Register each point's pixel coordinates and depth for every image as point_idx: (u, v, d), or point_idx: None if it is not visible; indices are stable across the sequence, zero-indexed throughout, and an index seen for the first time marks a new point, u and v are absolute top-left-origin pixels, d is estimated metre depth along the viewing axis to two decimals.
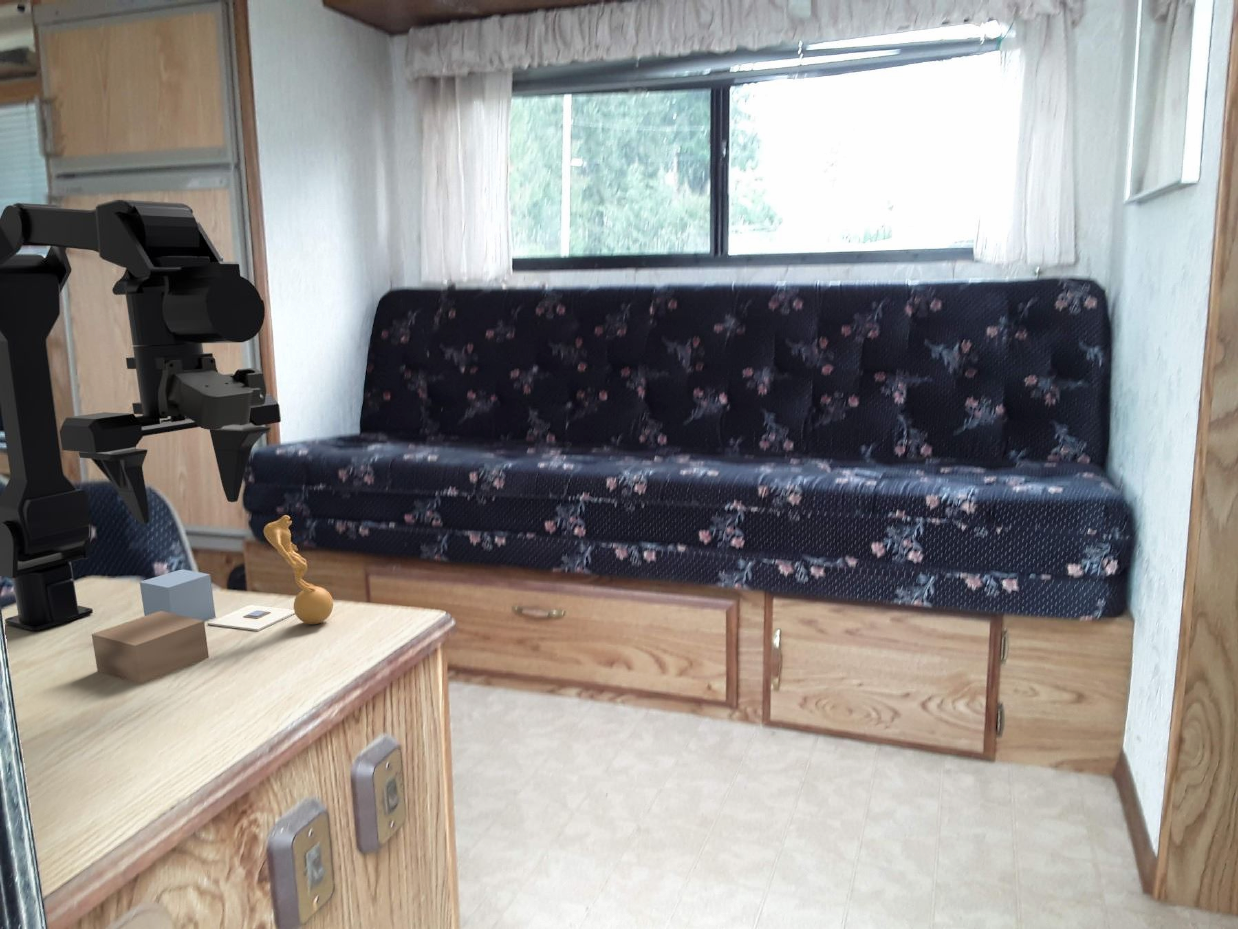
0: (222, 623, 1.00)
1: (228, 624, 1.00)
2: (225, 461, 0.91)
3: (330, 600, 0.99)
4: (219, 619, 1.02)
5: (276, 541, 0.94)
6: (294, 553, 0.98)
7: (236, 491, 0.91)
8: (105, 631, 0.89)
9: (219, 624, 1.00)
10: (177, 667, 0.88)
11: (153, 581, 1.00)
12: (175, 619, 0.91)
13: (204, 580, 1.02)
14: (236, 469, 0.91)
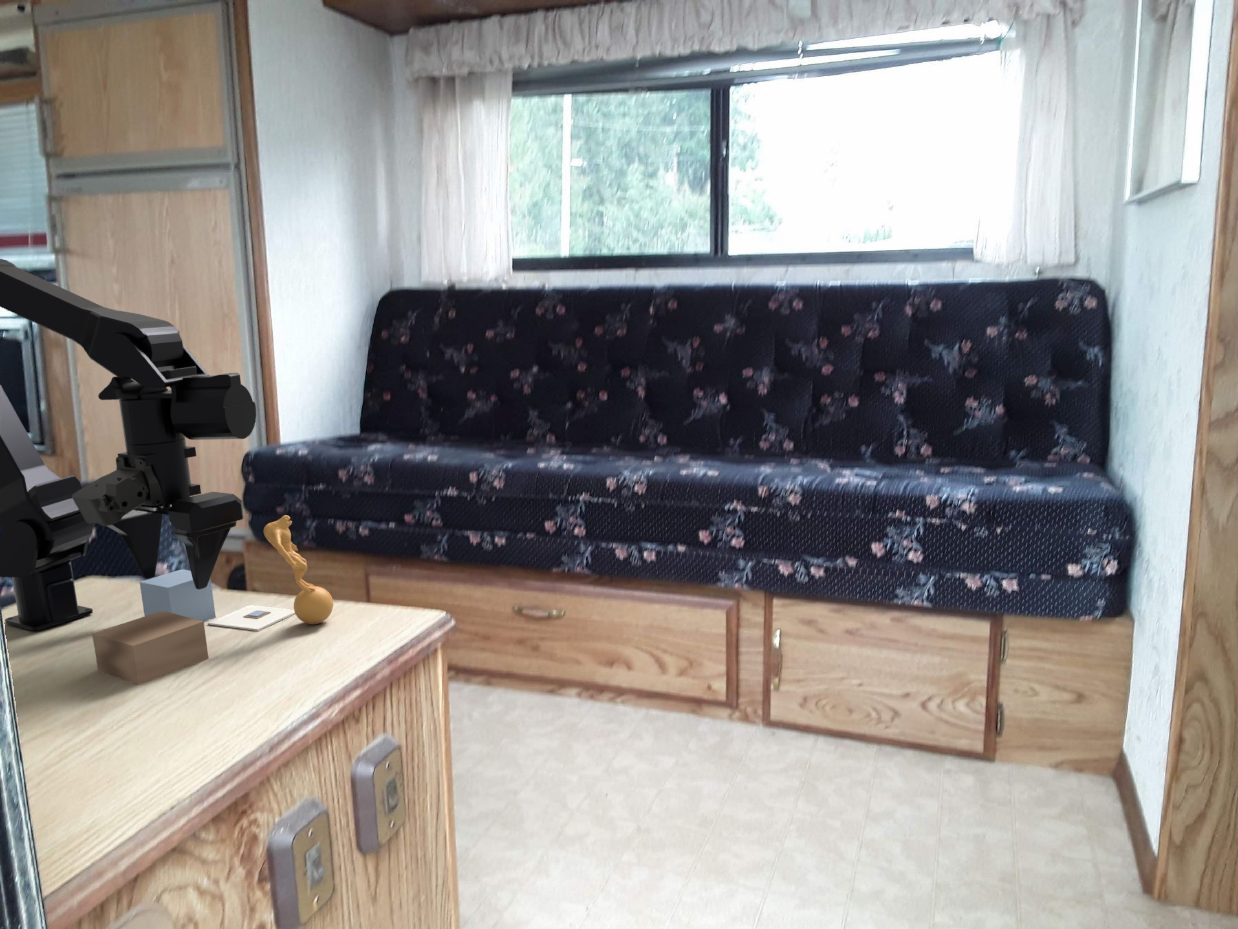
0: (222, 623, 1.00)
1: (228, 624, 1.00)
2: None
3: (330, 600, 0.99)
4: (219, 619, 1.02)
5: (276, 541, 0.94)
6: (294, 553, 0.98)
7: (194, 580, 0.98)
8: (106, 630, 0.89)
9: (219, 624, 1.00)
10: (175, 668, 0.88)
11: (153, 581, 1.00)
12: (175, 619, 0.91)
13: None
14: None
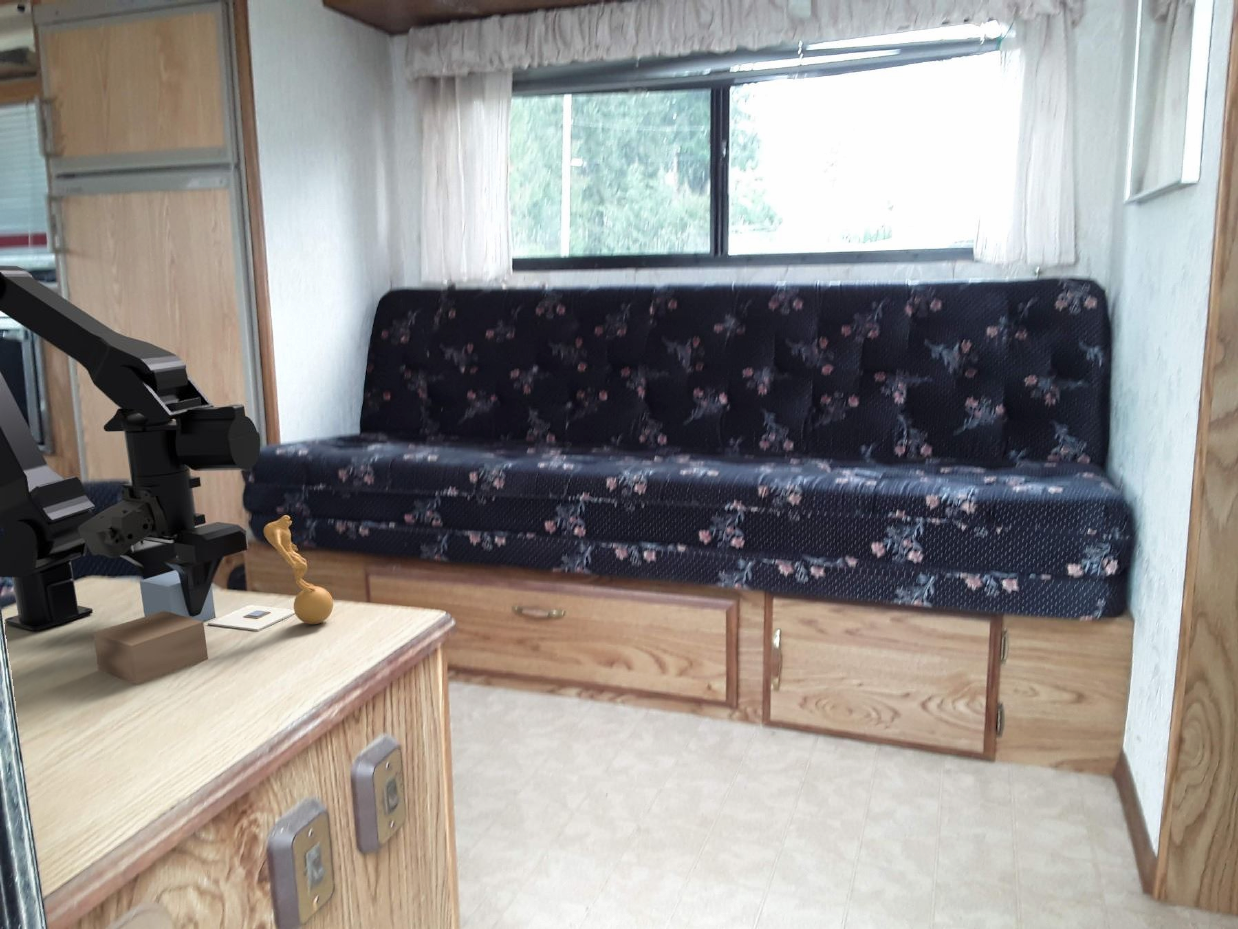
0: (222, 623, 1.00)
1: (228, 624, 1.00)
2: None
3: (330, 600, 0.99)
4: (219, 619, 1.02)
5: (276, 541, 0.94)
6: (294, 553, 0.98)
7: (188, 608, 1.00)
8: (106, 630, 0.89)
9: (219, 624, 1.00)
10: (174, 668, 0.88)
11: (153, 580, 1.00)
12: (176, 619, 0.91)
13: None
14: (182, 589, 0.99)
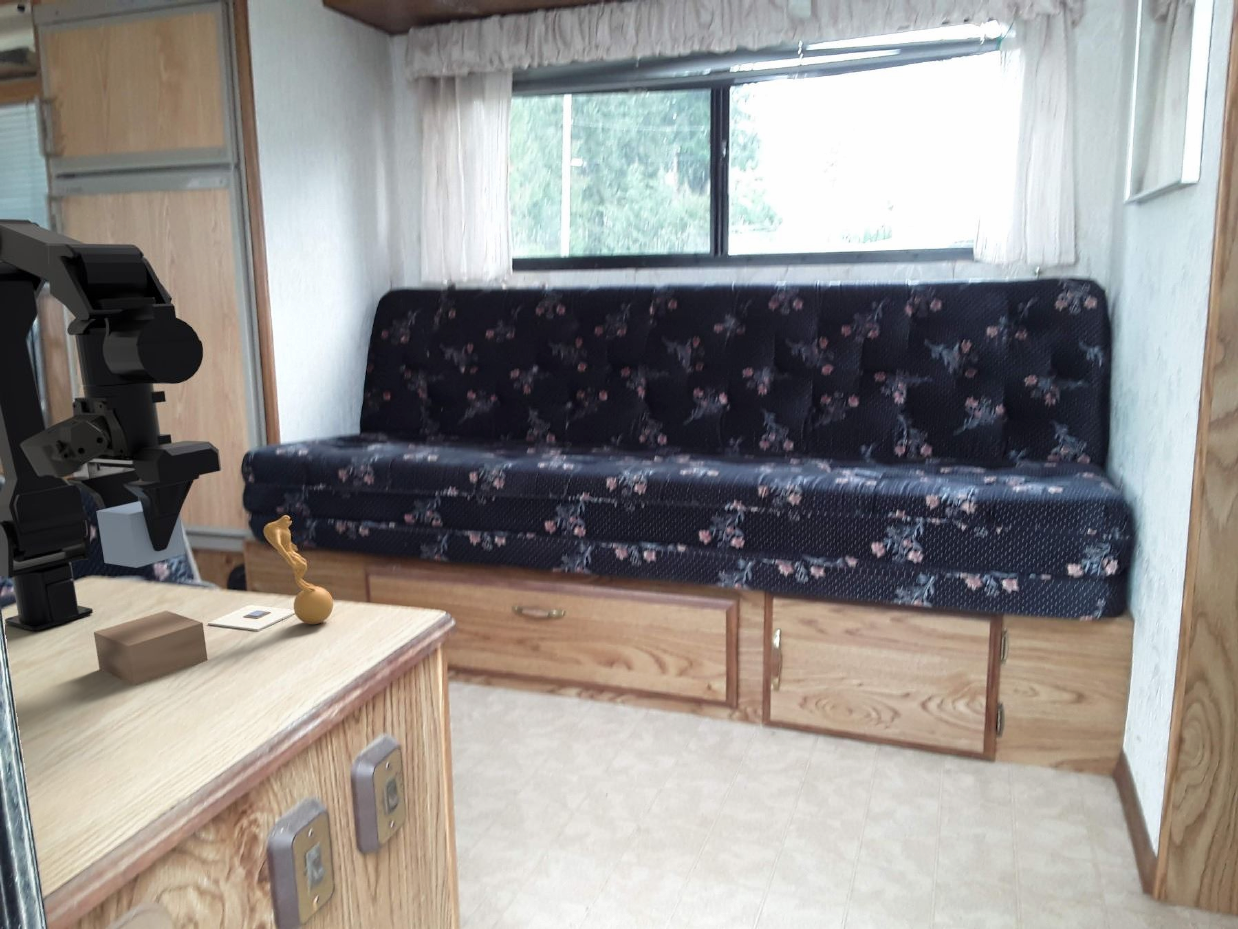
0: (222, 623, 1.00)
1: (228, 624, 1.00)
2: None
3: (330, 600, 0.99)
4: (219, 619, 1.02)
5: (276, 541, 0.94)
6: (294, 553, 0.98)
7: (152, 541, 0.87)
8: (107, 629, 0.89)
9: (219, 624, 1.00)
10: (173, 669, 0.88)
11: (112, 510, 0.87)
12: (176, 620, 0.91)
13: None
14: (145, 518, 0.86)
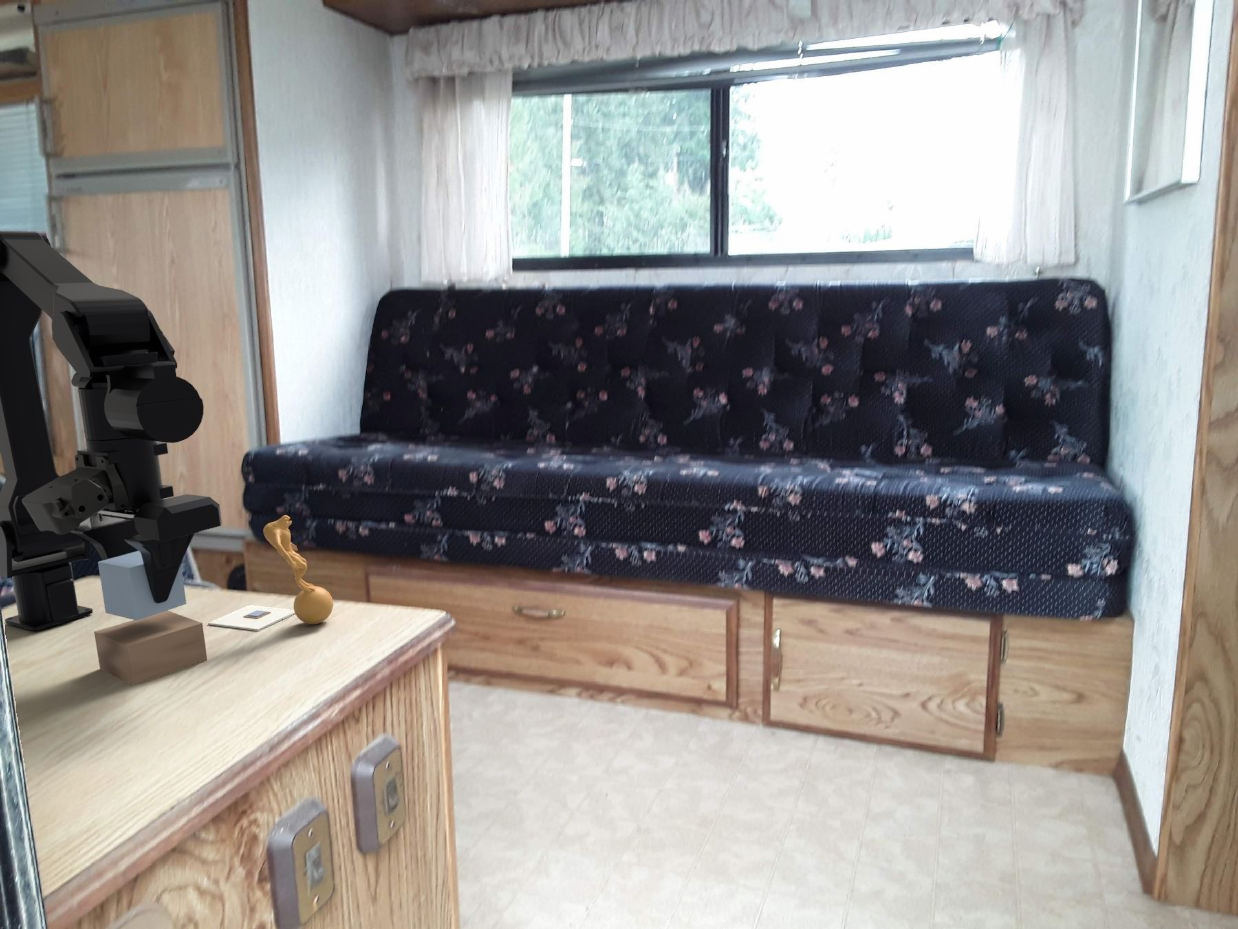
0: (222, 623, 1.00)
1: (228, 624, 1.00)
2: None
3: (330, 600, 0.99)
4: (219, 619, 1.02)
5: (276, 541, 0.94)
6: (294, 553, 0.98)
7: (152, 593, 0.87)
8: (107, 629, 0.89)
9: (219, 624, 1.00)
10: (172, 669, 0.88)
11: (114, 561, 0.87)
12: (176, 620, 0.91)
13: None
14: (146, 571, 0.86)
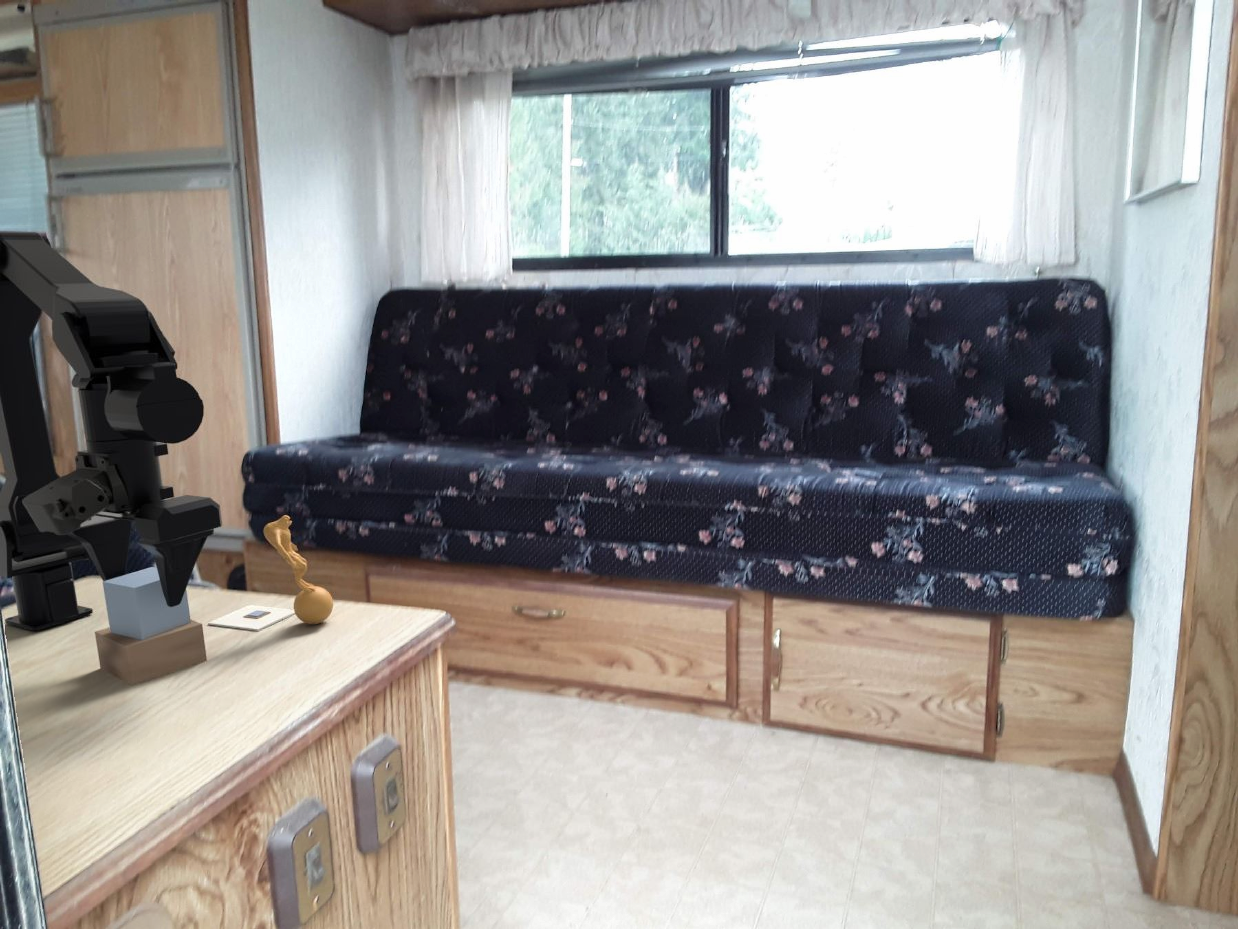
0: (222, 623, 1.00)
1: (228, 624, 1.00)
2: None
3: (330, 600, 0.99)
4: (219, 619, 1.02)
5: (276, 541, 0.94)
6: (294, 553, 0.98)
7: (165, 597, 0.86)
8: (108, 629, 0.89)
9: (219, 624, 1.00)
10: (171, 670, 0.88)
11: (118, 581, 0.88)
12: None
13: None
14: (158, 574, 0.85)
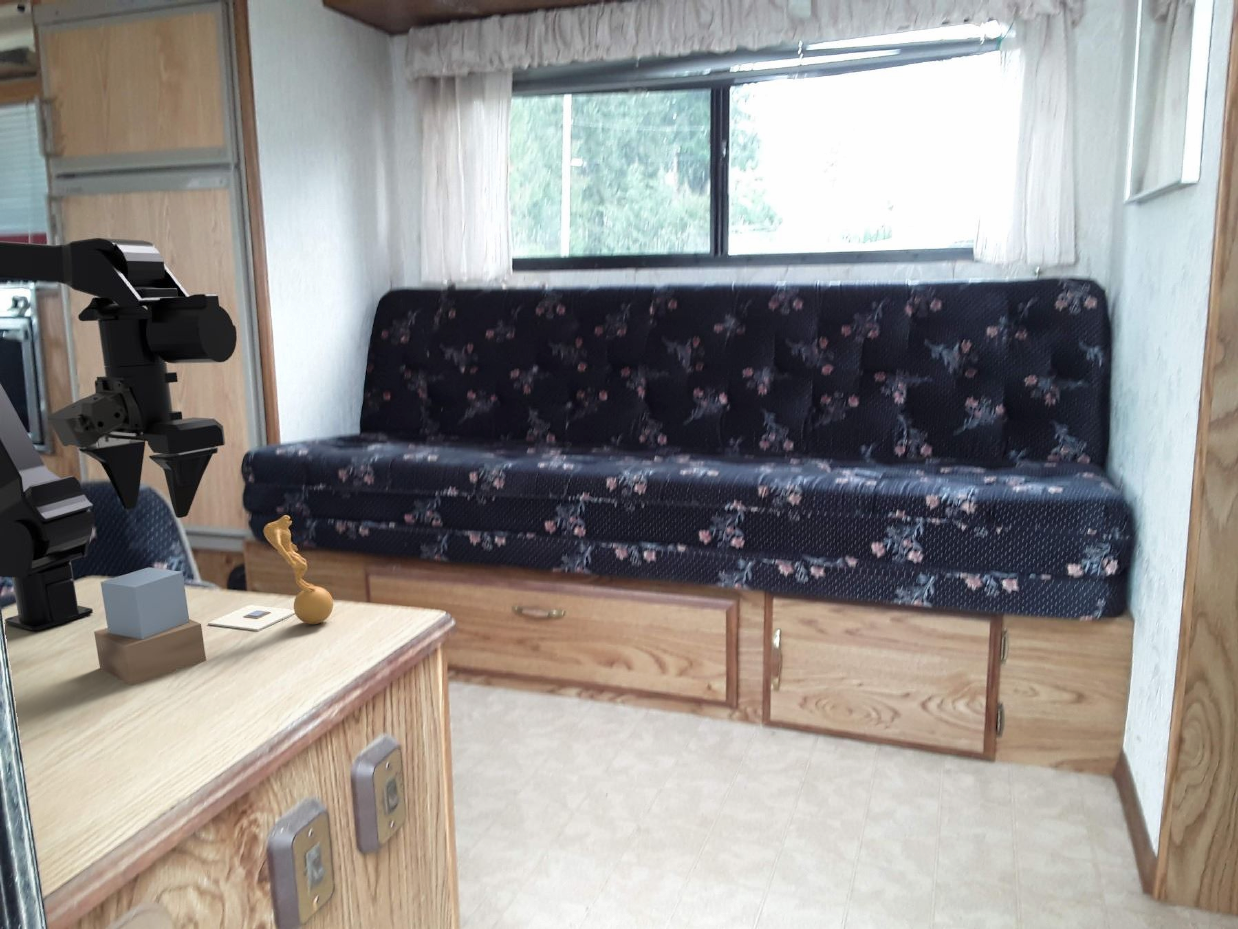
0: (222, 623, 1.00)
1: (228, 624, 1.00)
2: None
3: (330, 600, 0.99)
4: (219, 619, 1.02)
5: (276, 541, 0.94)
6: (294, 553, 0.98)
7: (174, 508, 0.96)
8: (107, 629, 0.90)
9: (219, 624, 1.00)
10: (170, 670, 0.88)
11: (117, 581, 0.88)
12: None
13: (176, 578, 0.89)
14: (168, 487, 0.95)
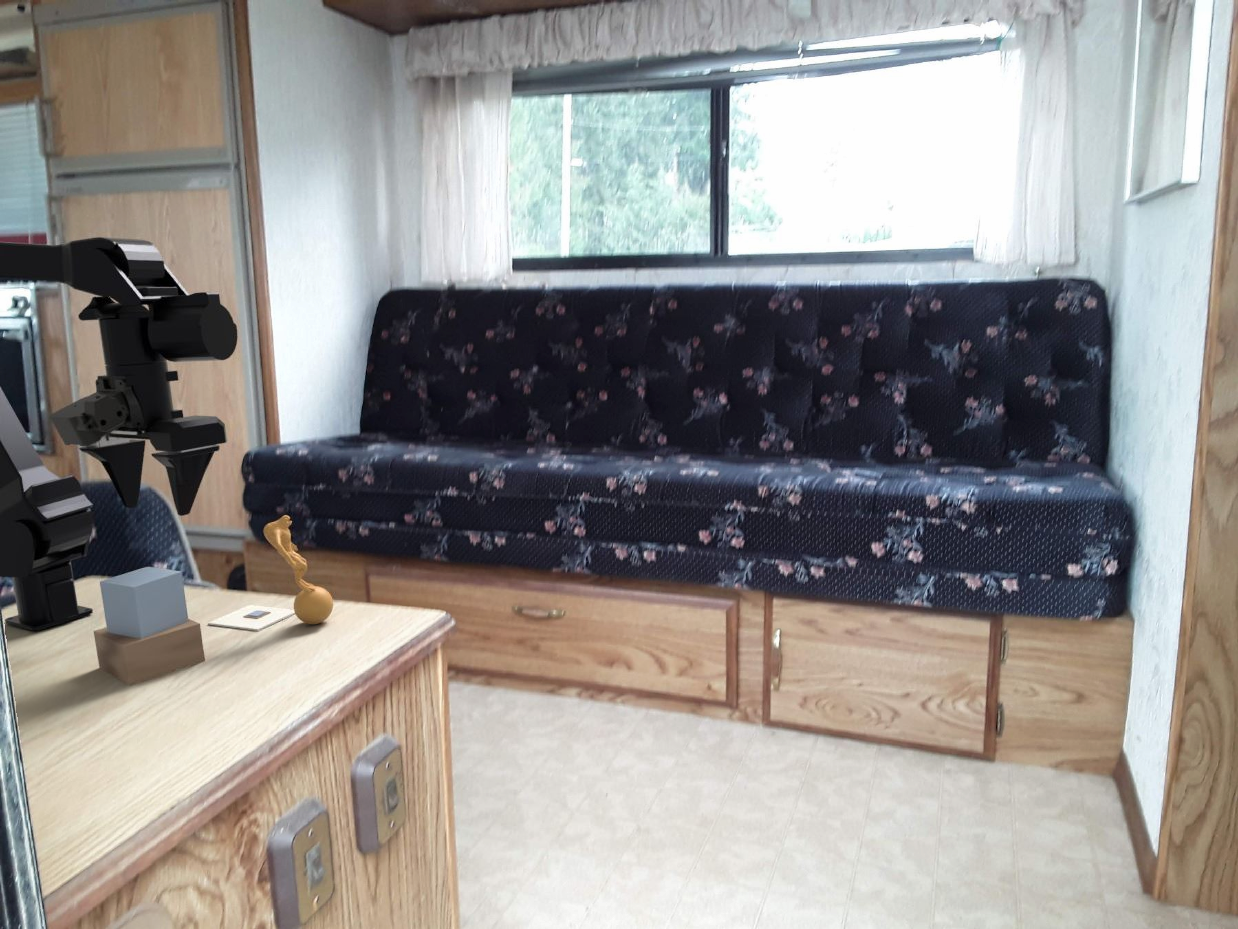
0: (222, 623, 1.00)
1: (228, 624, 1.00)
2: None
3: (330, 600, 0.99)
4: (219, 619, 1.02)
5: (276, 541, 0.94)
6: (294, 553, 0.98)
7: (176, 506, 0.96)
8: None
9: (219, 624, 1.00)
10: (169, 669, 0.88)
11: (116, 580, 0.88)
12: None
13: (175, 578, 0.89)
14: (170, 485, 0.95)
